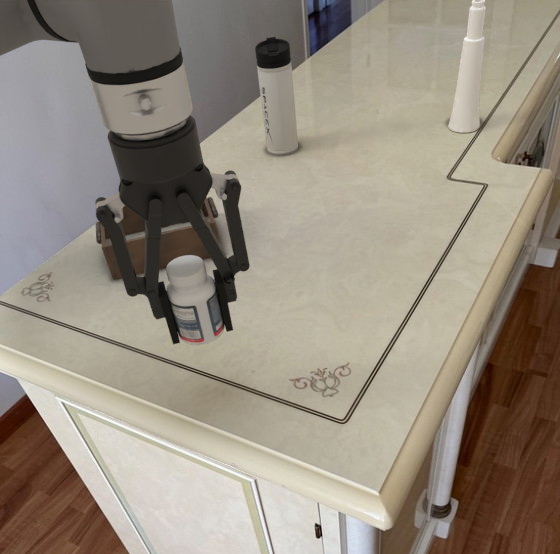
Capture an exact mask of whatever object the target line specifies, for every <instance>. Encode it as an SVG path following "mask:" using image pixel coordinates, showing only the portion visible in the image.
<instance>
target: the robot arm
mask: <svg viewBox="0 0 560 554" xmlns="http://www.w3.org/2000/svg"><path fill="white" fill-rule="evenodd" d="M177 28H178V27H177V24H176V17H175V11H174V4H173V0H0V57H1V56H3V55H5V54H8V53H11V52H12V51H15V50H17V49H19V48H21V47H23V46H26V45H28V44H30V43H33V42H36V41H53V42H54V41H55V42H63V43H65V42H66V43H75V44H77V43H78V46H79V48H80V51H81V54H82V57H83V59H84V63H85V64H84V65H85V68H86V69H85V70H86V72H87V75H88V79H89V80H90V85H91V87H92V91H93V94H94V97H95V101H96V104H97V107H98V110H99V114H100V117H101V122H102V124H103V126H104V127H105V128H106V129H107V130H108V131H109V132H108V134H107V140H108V144H109V147H110V150H111V154H112V157H113V161H114V163H115V166H116V170H117V173H118V177H119V185H118V192H116V193H115V194H113V195H111V196H109V197H107V198H106V197H104V196H100V197H98V198H96V200H95V202H94V205H95V217H96V220H97V222H100V223H101V224H102V226H103V227H104V228H105V229H106V231H107V232H108V233H109V237H110V240H111V243H112V246H113V250H114V253H115V256H116V259H117V263H118V266H119V269H120V272H121V276H122V278H121V279H122V282H123V285H124V288H125V292H126V294H127V295H128V296H129V297H137V296H138V295H141V296H142V295H143V296H144V297H146V298H147V300H148V303H149V306H150V309H151V312H152V316H153V317H154V318H155V320H160V319H165V321H166V325H167V328H168V332H169V335H170V338H171V342H172V345H176V344H177V345H178V344H180V343H181V341H180V337H179V334H178V331H177V327H176V324H175V320H174V317H173V314H172V311H171V307H170V304H169V301H168V297H167V287H166V285H165V281H164V280H163V281H160V269H159V259H160V239H161V232H162V229H163V228H167V227H170V226H173V225H175V224H174V223H178V224H186V223H187V224H188V223H189V224H190V226H192V227H193V229H194V230H195V232H196V233H197V234H198V236H199V238H200V240H201V241H202V243H203V245H204V247H205V248H206V250H207V252H208V254H209V255H210V257H211V258H210V259H211V261H212V262H213V264H214V266H215V268H216V269H212V275H213V279H214V281H215V284H216V288H217V292H218V297H219V301H220V306H221V310H222V315H223V319H224V325H225V327H224V329H225V331H226V332H231V331H234V327H233V322H232V317H231V312H230V307H229V303H233V302H237V299H238V294H237V289H236V282H235V281H236V278H235V276H236V275H237V274H238V273H239V272H247V271H248V270H249V269H250V267H251V265H250V261H249V255H248V250H247V245H246V239H245V233H244V229H243V228H244V227H243V223H242V218H241V213H240V208H239V203H240V197H241V192H242V184H241V183H240V180H239V177H238V176H237V174H236V172H235V171H234V170H227V171H225V172H224V174H222V173H214V172H213V173H212V172H211V171H210V169H209V168H208V167H207V166H206V163H204V158H203V154H202V149H201V143H200V137H199V133H198V128H197V127H198V126H197V123H196V119H195V118H194V117H193V116H192V112H193V110H194V108H193V107H194V106H193V102H192V96H191V90H190V86H189V81H188V76H187V72H186V66H185V61H184V57H183V52H182V48H181V46H180V41H179V40H180V39H179V35H178V29H177ZM211 189H214V190H215V193H216V196H217V198H218V199H219V200H221V202H222V206H223V207H222V208H223V211H224V215H225V221H226V226H227V230H228V234H229V239H230V245H231V250H232V255H230V256H229V257H228V256H227V255H226V253H225V251H224V249H223V247H222V245H221V243H220V241H219V242H218V240H217V238H216V236H215V234H214V233H213V231H212V229H211V227H210V225H209V223H208V222H207V220H206V217H205V216H204V214H203V212H202V210H201V207H202V205H203V203H204V201H205V199H206V197H207V198H208V194H209V192H210V191H211ZM124 206H127V207H128V208H129V209H131V210H132V211H133V212H135V213H136V214H137V215H139V216H140V217H141V218H143V219H144V220H145V231H144V236H145V255H144V273H143V276H138V275H136V272H135V269H134V265H133V262H132V258H131V255H130V251H129V248H128V244H127V241H126V240H127V238H126V235H125V234H124V230H123V227H122V223H121V220H122V219H123V210H122V209H123V207H124ZM172 224H173V225H172ZM219 243H220V244H219Z"/></svg>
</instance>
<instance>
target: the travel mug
mask: <svg viewBox="0 0 560 554" xmlns="http://www.w3.org/2000/svg"><path fill="white" fill-rule="evenodd" d="M254 51H255V59H256V68H257V79H258V85H259V86H258V87H259V94H260V104H261V112H262V120H263V128H264V135H265V144H266V151H267V153H268V154H269V155H271V156H275V157H284V156H288V155H291V154H294V153H295V152H297V151H298V150H299V140H298V139H299V138H298V137H299V136H298V125H297V115H296V104H295V103H296V101H295V89H294V78H293V66H292V57H291V45H290V42H289V41H288V40H285V39H282V38H277V37H276V36H270V37H266V38H265V40H262V41H260V42H259V43H257V44H256V45H255V49H254Z"/></svg>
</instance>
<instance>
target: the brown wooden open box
mask: <svg viewBox="0 0 560 554" xmlns="http://www.w3.org/2000/svg"><path fill="white" fill-rule="evenodd" d="M122 210H123V219H122V220H121V223H122V227H123V230H124V234H125V236H128V235H129V236H130V235H133V234H138V233H141V232H142V233H143V232H145V220H144V219H143V218H141V217H140V216H139V215H137V214H136V213H135V212H133V211H132V210H131V209H129V208H128V207H127V206H124V207H123V209H122ZM201 210H202V212H203V214H204V216H205V218H206V220H207V222H208V223H209V225H210V227H211V229H212V231H213V233H214V234H215V236H216V238H217V240H218V242H219V244H220V245H221V243H220V238H219V234H218V230H217V229H218V228H217V224H216V221H215V219H217V218H219V213H218V209H217V207H216V205H215V201H214V198H213V197H212V196H207V197H206V199H205V201H204V203H203V205H202V207H201ZM177 224H179V223H174V224H172V225H171V226H173V225H177ZM95 240H96V243H97V244H98V245H101V249H102V252H103V255H104V257H105V260H106V263H107V267H108V269H109V272H110V274H111V277H112V279H113V280H114V281H115V280H120V279H122V276H121V272H120V269H119V266H118V263H117V259H116V256H115V253H114V250H113V246H112V243H111V240H110V237H109V233H108V232H107V231H106V229H105V228H104V227H103V226H102V224H101V223H100V222H99V221H96V222H95ZM126 241H127V244H128V248H129V251H130V255H131V258H132V262H133V265H134V269H135V272H136V276H138V275H142V274H144V255H145V235H143V236H139V237H134V238H131V239H126ZM185 255H194V256H198V257H200V258H201V259H202V260H207V259H211V257H210V255H209V254H208V252H207V250H206V248H205V247H204V245H203V243H202V241H201V240H200V238H199V236H198V234H197V233H196V232H195V230H194V229H193V227H192V225H188V226H184V227H179V228H175V229H170V230H166V231H161V239H160V259H159V270H163V269H166V267H167V265H168V264H169V263H170V262H171V261H172V260H174V259H175V258H178V257H181V256H185Z"/></svg>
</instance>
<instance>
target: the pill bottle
mask: <svg viewBox="0 0 560 554" xmlns="http://www.w3.org/2000/svg"><path fill="white" fill-rule="evenodd" d="M165 271H166V276H167V281H168V284H167V287H166V291H167V297H168V301H169V304H170V307H171V311H172V314H173V317H174V320H175V324H176V327H177V331H178V336H179V339H180V340H181V341H182V342H184V343H186V344H188V345H189V346H203V345H204V346H205V345H207V344H210V343H212V342H215V341H217V339H220V337H221V336H222V335H223V333H224V330H225V324H224V319H223V315H222V310H221V306H220V301H219V297H218V292H217V288H216V284H215V280H214V277H212V275H210V274H209V273H207V267H206V264H205V261H204V259H201V258H200V257H198V256H194V255H185V256H181V257H178V258H175V259H174V260H172V261H171V262H170V263H169V264H168V265H167V267H166V268H165Z"/></svg>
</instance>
